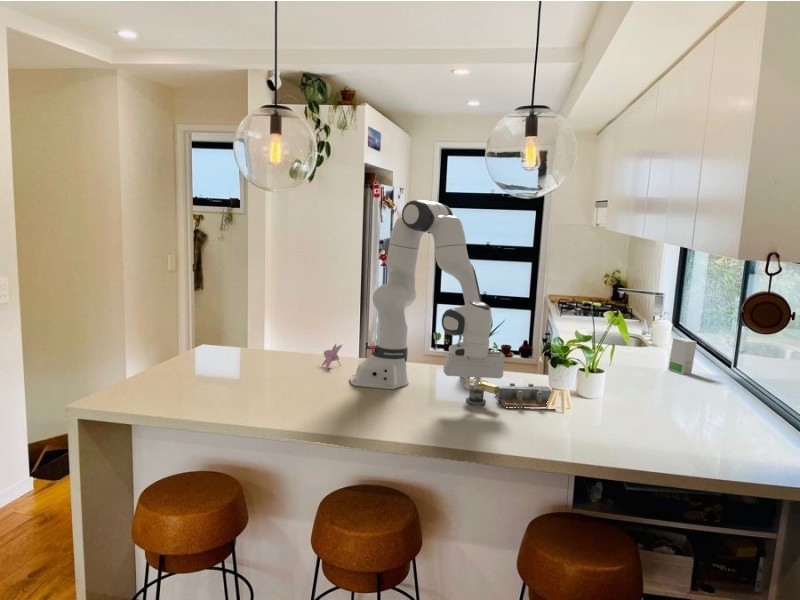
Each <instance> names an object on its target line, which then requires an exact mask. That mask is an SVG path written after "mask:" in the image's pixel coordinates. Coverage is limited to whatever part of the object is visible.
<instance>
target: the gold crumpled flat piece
mask: <svg viewBox="0 0 800 600" xmlns="http://www.w3.org/2000/svg"><path fill="white" fill-rule="evenodd" d="M468 381H469V383H474V382H475V381H476V379H470V380H468ZM498 386H499V385H497V384H493V383H489V381H487V380H484V379H481V380H480V382H479V383H478V385H477V387H476V390H474V391H484V392H487V393H489V394H494V395H495V393H498ZM465 388H466V389H467V382H466V381H465ZM470 390H471V389H469V391H470Z"/></svg>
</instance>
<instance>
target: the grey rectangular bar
mask: <svg viewBox="0 0 800 600" xmlns="http://www.w3.org/2000/svg"><path fill="white" fill-rule="evenodd" d="M497 386H498V393H497V395H496V397H497V398H498V399H510V400H517V393H518V391H522V392H523V396H522V400H536V398H537V392H542V401H546V402H547V401H548V399H549V397H550V394H551V390H552V389H551V388H550V387H549V386H542V385H541V386H540V385H539V386H537V385H535V386H534V385H533V387H528V386H510V385H497ZM496 397H495V398H496ZM497 398H496V399H497ZM498 399H497V400H498Z"/></svg>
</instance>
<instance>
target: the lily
mask: <svg viewBox="0 0 800 600" xmlns="http://www.w3.org/2000/svg"><path fill="white" fill-rule="evenodd" d="M342 347H343V344H340V345H337V343H334V344H333V347H332V348H331V349H328V350H324V351H323V356H324V358H325V360H323V363H321V366H325V370H329V367H330V366H331V364H332V362H333V361H337V362H338V364H339V366H340V367H341V366H342V365H341V363H340V361H339V360H340V357H339V354H338V352H340V349H342Z"/></svg>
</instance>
